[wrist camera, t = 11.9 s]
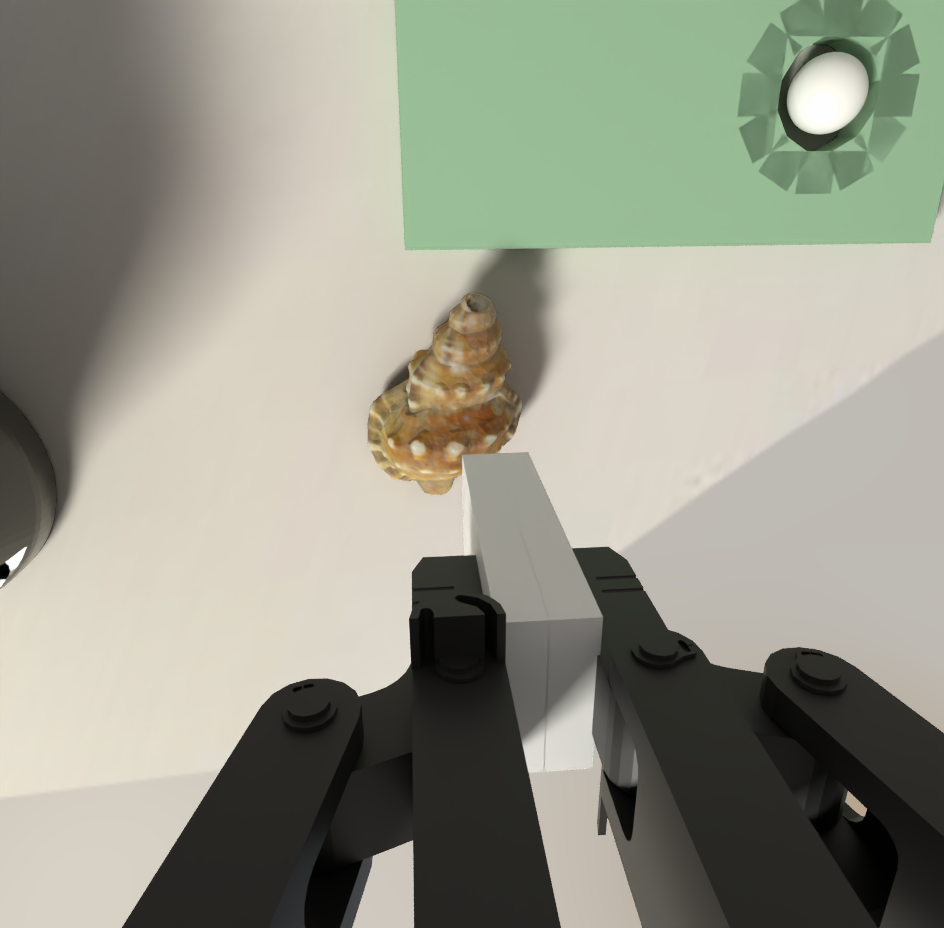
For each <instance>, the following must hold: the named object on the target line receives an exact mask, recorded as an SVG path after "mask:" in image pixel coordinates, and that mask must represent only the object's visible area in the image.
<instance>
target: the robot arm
mask: <svg viewBox="0 0 944 928" xmlns="http://www.w3.org/2000/svg"><path fill="white" fill-rule="evenodd" d="M462 484H463V556H444V557H423V558H422V559H421V561H420V562H419V563H418V565H417V566H416V567H415V569H414V570H413V571H412V612H411V615H410V618H409V626H410V648H411V664H410V666H409V668H408V670H407V671H406V673H405V674H404V675H403V676H402V677H401V678H399V679H398V680H397V681H396V682H394V683H392V684H391V685H389V686H388V687H386V688H383V689H381V690H378V691H376V692H373V693H370V694H366V695H363V696H360V697H358V695H357V693H356V691H355V690H353V689H352V688H351V687H349V686H348V685H346V684H345V683H343V682H339V681H335V680H331V679H307V680H304V681H300V682H296V683H293V684H289V685H288V686H286V687H284V688H282V689H281V690H279V691H277V692H275V693H274V694H272V695H271V696H270V698H269V699H268V700H267V701H266V702H265V703H264V704H263V705H262V706H261V708H260V709H259V711H258V712H257V714H256V715H255V717H254V719H253V720H252V722H251V723H250V725H249V727H248V728H247V730H246V731H245V733H244V735H243V736H242V738H241V739H240V741H239V742H238V744H237V746H236V747H235V749H234V750H233V752H232V754H231V755H230V757H229V758H228V760H227V762H226V763H225V765H224V766H223V768H222V769H221V771H220V773H219V774H218V776H217V777H216V779H215V781H214V782H213V784H212V785H211V787H210V789H209V790H208V792H207V793H206V795H205V796H204V798H203V800H202V801H201V803H200V804H199V806H198V808H197V809H196V811H195V812H194V814H193V816H192V817H191V819H190V820H189V822H188V823H187V825H186V827H185V828H184V830H183V831H182V833H181V835H180V836H179V838H178V839H177V841H176V843H175V844H174V846H173V847H172V849H171V850H170V852H169V854H168V855H167V857H166V858H165V860H164V862H163V863H162V865H161V866H160V868H159V870H158V871H157V873H156V874H155V876H154V877H153V879H152V881H151V882H150V884H149V885H148V887H147V889H146V890H145V892H144V893H143V895H142V897H141V898H140V900H139V901H138V903H137V905H136V906H135V908H134V910H133V911H132V913H131V914H130V916H129V917H128V919H127V920H126V922H125V924H124V925H123V927H122V928H352V926H353V923H354V920H355V917H356V913H357V910H358V907H359V904H360V901H361V898H362V895H363V891H364V888H365V885H366V882H367V879H368V876H369V873H370V869H371V866H372V857H373V856H374V855H376V854H379V853H381V852H384V851H386V850H389V849H392V848H394V847H397V846H399V845H402V844H404V843H406V842H409V841H412V840H413V854H414V928H561V926H560V921H559V917H558V912H557V907H556V903H555V898H554V893H553V888H552V883H551V878H550V874H549V870H548V864H547V860H546V855H545V850H544V845H543V840H542V835H541V831H540V826H539V821H538V816H537V811H536V807H535V802H534V798H533V792H532V788H531V783H530V778H529V773H533V772H547V771H561V770H575V769H589V768H592V761H593V748H594V742H595V745H596V748H597V751H598V754H599V756H600V759H601V763H602V769H601V782H600V794H599V808H598V820H597V824H598V835H605V834H606V823H607V818H608V820H609V822H610V826H611V829H612V832H613V835H614V839H615V842H616V845H617V848H618V851H619V855H620V858H621V861H622V864H623V867H624V871H625V874H626V877H627V880H628V883H629V886H630V890H631V893H632V896H633V899H634V902H635V906H636V909H637V912H638V915H639V918H640V921H641V925H642V928H944V733H943V732H941V731H940V730H939V729H937V728H936V727H935V726H933V725H932V724H931V723H929V722H928V721H927V720H925V719H924V718H923V717H921V716H920V715H919V714H917V713H916V712H915V711H913V710H912V709H911V708H909V707H908V706H906V705H905V704H904V703H903V702H901V701H900V700H899V699H897V698H896V697H895V696H893V695H892V694H891V693H889V692H888V691H887V690H886V689H884V688H883V687H882V686H880V685H879V684H878V683H876V682H875V681H873V680H872V679H871V678H869V677H868V676H867V675H866V674H864V673H863V672H862V671H860V670H859V669H858V668H856V667H855V666H853V665H851V664H850V663H848V662H846V661H845V660H843V659H841V658H839V657H837V656H834V655H832V654H829V653H826V652H823V651H820V650H815V649H809V648H800V647H797V648H786V649H781V650H779V651H777V652H775V653H772V654H771V655H770V656H769V658H768V659H767V661H766V663H765V667H764V672H763V673H757V672H751V671H745V670H738V669H732V668H726V667H722V666H717V665H714V664H711V663H710V662H709V660H708V659H707V657H706V656H705V654H704V653H703V651H702V650H701V649H700V648H699V647H698V646H697V645H696V644H695V643H694V642H693V641H692V640H690V639H688V638H687V637H685V636H683V635H681V634H679V633H677V632H673V631H670V630H668V629H667V627H666V625H665V624H664V622H663V620H662V619H661V617H660V615H659V614H658V612H657V610H656V608H655V607H654V605H653V604H652V602H651V600H650V599H649V597H648V595H647V594H646V592H645V591H643V586H642V585H641V583H640V581H639V580H638V578H636V575H635V573H634V571H633V570H632V568H631V566H630V564H629V563H628V561H627V560H626V559H625V558H624V557H622V556H621V555H619V554H618V553H616V552H615V551H613V550H612V549H611V548H609V547H594V548H571V546H570V543H569V541H568V539H567V537H566V535H565V532H564V530H563V528H562V526H561V524H560V521H559V519H558V517H557V515H556V513H555V510H554V508H553V506H552V504H551V502H550V499H549V497H548V495H547V493H546V491H545V488H544V486H543V484H542V482H541V480H540V477H539V475H538V473H537V471H536V469H535V466H534V464H533V462H532V460H531V458H530V455H529V453H528V452H524V453H497V454H469V455H462ZM55 511H56V485H55V479H54V474H53V470H52V466H51V463H50V460H49V458H48V455H47V453H46V450H45V448H44V446H43V444H42V442H41V440H40V439H39V437H38V435H37V434H36V432H35V430H34V429H33V427H32V426H31V425H30V423H29V422H28V420H27V419H26V418H25V417H24V415H23V414H22V413H21V412H20V411H19V410H18V408H17V407H16V406H15V405H14V404H13V403H12V402H11V401H10V400H9V399H8V398H6V397H5V396H4V395H3V394H2V393H1V392H0V589H1V588H2V587H4V586H5V585H6V584H8V583H9V582H10V581H11V580H12V579H13V578H14V577H15V576H16V575H17V574H18V573H19V572H20V571H21V570H22V569H23V568H25V567H26V566H27V565H28V564H29V563H30V562H31V561H32V560H33V558H34V557H35V556H36V555H37V554H38V552H39V551H40V550H41V548H42V547H43V545H44V543H45V542H46V540H47V538H48V536H49V533H50V531H51V528H52V525H53V521H54V517H55ZM848 791H849V792H850V793H851V794H853V796H855V797H856V798H857V799H858V800H859V801H860V802H861V803H862V804H863V805H864V806H865V807H866V808H867V812H866V815H865V817H863V816H860V815H859V814H858V813H856V812H855V811H854V810H853V809H852V808H851V807H850V806H849V805H847V804H846V803H845V800H846V796H847V792H848Z"/></svg>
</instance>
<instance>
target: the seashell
mask: <svg viewBox="0 0 944 928" xmlns="http://www.w3.org/2000/svg"><path fill="white" fill-rule="evenodd" d="M501 335H502V329H501V327H500V325H499V323H498V322H497V320H496V310H495V307H494V305H493V303H492V302H491V301H490V299H489V298H488V297H486V296H484V295H481V294H479V293H468V294H467V295H465V296H464V297H463V298H462V301H461V303H460V304H459V305H457V306H456V307H454V308H453V309H452V310H451V311H450V316H449V320H448V321H447V322H446V323H444V324H442V325H441V326H439V327H438V328H437V330H436V331H435V332H434V337H433V344H432V346H431V347H430V349H429V350H420V351H417V352H416V353H415V355H414V360H413V361H410V363H409V365H408V369H409V378H408V379H406V380H405V381H403V382H402V383H400V384H399V385H397V386H395V387H393V388H391V389H389V390H388V391H386V392H384V393H383V394H382V395H381V396H379V397H378V398H377V399H376V400H375V401H373V403H372V405H371V407H370V409H369V419H368V446H369V448H370V450H371V451H372V453H373V455H374V457H375V460H376V463H377V465H378V466H379V467H380V468H382V469H383V470H384V471H385V472H386V473H388V474H389V475H390V476H391V477H392V478H393V479H395V480H404V481H411V480H414V481H417V482H418V484H419V485H420V487H421V488H422V489H423V491H424V492H425V493H428V494H433V495H442V494H445V493H447V492H448V491H449V490H450V488H451V487H452V485H453V481H454V477H456V476H459V475H462V455H469V454H497V453H498V452H499V451H500V449H501V447H502V446H504V445H505V444H506V443H507V442H508V441H509V440H510V439H511V438H512V437H513V435H514V434H515V432H516V428H517V425H518V421H519V417H520V414H521V410H522V401H521V399H520V398H519V397H518V395H517V394H516V393H515V392H514V391H513V390H512V389H511V388H510V387H509V385H508V383H507V382H506V381H505V375H506V373H507V372H508V371H509V370H510V368H511V363H510V362H509V361H508V360H507V353H506V352H505V350H504V349H503V348H502V347H501V345H500V341H501Z"/></svg>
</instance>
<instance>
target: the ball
mask: <svg viewBox="0 0 944 928" xmlns="http://www.w3.org/2000/svg"><path fill="white" fill-rule="evenodd" d="M868 88H869V81H868V75H867V72H866V69H865V67H864V66H863V64H862V63H861V62H860V61H859V60H858V59H857V58H856V57H854V56H852V55H850V54H848V53H844V52H828V53H824V54H821V55H819V56H817V57H815V58H813V59H812V60H810V61H809V62H807V63H806V64H805V65H804V66H803V67H802V68H801V69H800V70H799V71H798V72H797V74H796V75H795V77H794V78H793V80H792V82H791V84H790V87H789V90H788V94H787V109H788V113H789V116H790V118H791V120H792V121H793V122H794V124H795V125H796V126H797V127H798V128H800V129H801V130H803V131H805V132H808V133H811V134H827V133H831V132H834V131H837V130H839V129H841V128H843V127H844V126H846V125H847V124H848V123H849V122H851V121H852V120H853V119H854V118H855V117H856V116H857V114H858V113H859V112H860V110H861V109H862V107H863V105H864V103H865V100H866V98H867V94H868Z"/></svg>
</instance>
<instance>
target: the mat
mask: <svg viewBox="0 0 944 928" xmlns="http://www.w3.org/2000/svg"><path fill="white" fill-rule="evenodd" d="M395 15H396V40H397V65H398V90H399V115H400V139H401V164H402V189H403V214H404V239H405V250H452V249H524V248H596V247H668V246H739V245H811V244H883V243H931V238H932V234H933V229H934V225H935V220H936V216H937V211H938V207H939V202H940V198H941V193H942V189H943V184H944V0H395ZM810 45H829V46H831V47H832V48H833V49H834V50H836V51H837V52H844V53H848V54H850V55H852V56H854V57H856V58H857V59H858V60H859V61H860V62H861V63H862V64H863V66H864V67H865V69H866V72H867V75H868V81H869V88H868V94H867V98H866V100H865V103H864V105H863V107H862V109H861V110H860V112H859V113H858V114H857V116H856V117H855V118H854V119H853V120H852V121H851V122H849V123H848V124H847V125H846V126H844V127H843V128H842V129H841V130H840V132H839V133H838V135H837V136H836V138H835V139H834V140H832V141H831V142H829V143H827V144H825V145H824V146H822V147H820V148H819V149H817V150H815V151H806V150H805V149H803V148H802V147H801V146H799V145H798V144H796V143H795V142H794V141H792V140H791V139H790V138H788V137H787V135H786V133H785V130H784V127H783V124H782V122H781V119H780V116H779V113H778V103H779V96H780V89H781V82H782V79H783V77H784V75H785V74H786V72H787V71H788V69H789V67H790V66H791V64H792V63H793V61H794V59H795V58H796V56H797V55H798V53H799V52H800V51H802V50H804V49H805V48H807V47H808V46H810Z"/></svg>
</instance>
